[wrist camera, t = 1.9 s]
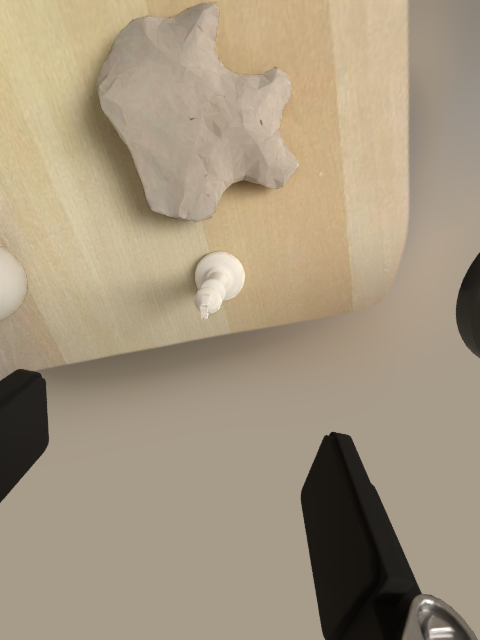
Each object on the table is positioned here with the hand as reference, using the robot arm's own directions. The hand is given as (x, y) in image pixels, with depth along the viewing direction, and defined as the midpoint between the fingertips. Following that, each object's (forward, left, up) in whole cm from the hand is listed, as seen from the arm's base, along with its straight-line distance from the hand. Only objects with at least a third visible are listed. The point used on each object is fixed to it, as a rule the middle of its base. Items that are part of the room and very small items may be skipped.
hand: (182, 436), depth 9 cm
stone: (+2, -13, -20) cm, 24 cm away
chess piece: (+1, -1, -20) cm, 21 cm away
